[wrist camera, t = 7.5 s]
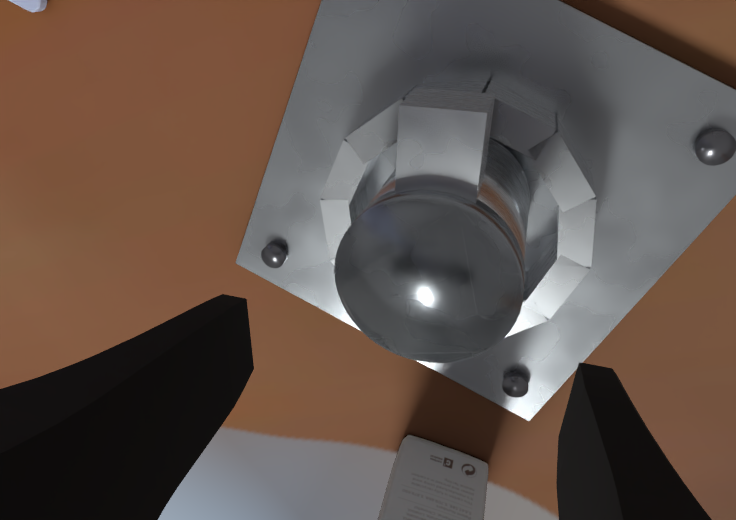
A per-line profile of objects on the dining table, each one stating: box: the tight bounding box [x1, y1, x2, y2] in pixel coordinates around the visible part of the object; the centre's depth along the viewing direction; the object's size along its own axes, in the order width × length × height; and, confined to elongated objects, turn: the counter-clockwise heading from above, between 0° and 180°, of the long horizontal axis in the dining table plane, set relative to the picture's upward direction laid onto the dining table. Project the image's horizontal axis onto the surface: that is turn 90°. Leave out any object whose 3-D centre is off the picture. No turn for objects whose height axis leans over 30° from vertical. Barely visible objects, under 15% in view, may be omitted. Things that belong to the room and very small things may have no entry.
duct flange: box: [236, 0, 736, 421], centre depth 19 cm, size 14×14×2 cm
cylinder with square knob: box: [334, 88, 530, 363], centre depth 16 cm, size 5×7×6 cm
